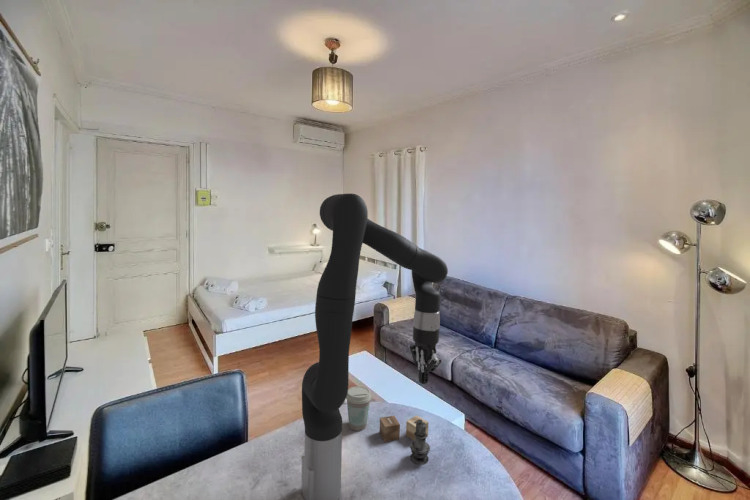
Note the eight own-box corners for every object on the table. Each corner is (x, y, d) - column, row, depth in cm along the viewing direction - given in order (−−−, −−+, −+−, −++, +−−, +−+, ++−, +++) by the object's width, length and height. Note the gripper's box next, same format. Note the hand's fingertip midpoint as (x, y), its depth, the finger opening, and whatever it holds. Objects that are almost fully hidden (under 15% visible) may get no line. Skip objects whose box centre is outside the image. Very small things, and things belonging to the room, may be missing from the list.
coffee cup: (341, 430, 112) (341, 395, 111) (350, 416, 120) (351, 383, 119) (365, 435, 110) (366, 400, 108) (373, 421, 118) (374, 387, 117)
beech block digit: (417, 443, 107) (418, 427, 106) (405, 435, 111) (406, 420, 110) (427, 436, 110) (428, 421, 110) (416, 429, 114) (416, 414, 114)
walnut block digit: (384, 441, 107) (385, 426, 107) (379, 432, 112) (380, 417, 111) (399, 439, 109) (399, 424, 108) (393, 429, 113) (394, 415, 113)
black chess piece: (429, 467, 97) (431, 427, 96) (408, 463, 98) (410, 423, 97) (430, 453, 103) (431, 415, 101) (410, 449, 104) (412, 412, 103)
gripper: (403, 320, 103) (400, 375, 105) (429, 334, 91) (426, 396, 93) (423, 317, 106) (420, 371, 108) (451, 330, 95) (447, 390, 96)
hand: (423, 382), depth 100 cm, fingers closed
